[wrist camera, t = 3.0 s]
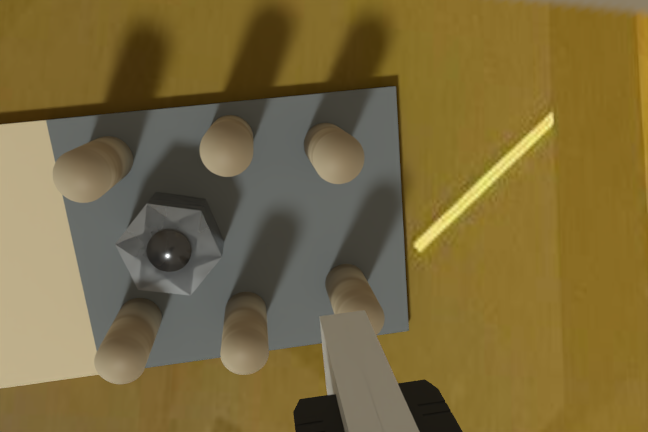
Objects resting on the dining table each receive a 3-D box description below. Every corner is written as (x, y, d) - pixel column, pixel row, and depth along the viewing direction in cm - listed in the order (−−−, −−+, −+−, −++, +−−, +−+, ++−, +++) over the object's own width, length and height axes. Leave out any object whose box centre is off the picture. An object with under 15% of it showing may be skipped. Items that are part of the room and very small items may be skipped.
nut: (157, 291, 34) (148, 312, 31) (116, 206, 33) (102, 220, 30) (233, 261, 34) (231, 280, 31) (195, 176, 33) (190, 187, 30)
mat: (-60, 392, 35) (-65, 397, 34) (-139, 137, 30) (-147, 138, 30) (406, 326, 38) (408, 330, 37) (393, 85, 33) (395, 86, 33)
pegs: (124, 346, 35) (101, 395, 30) (80, 129, 31) (44, 141, 26) (367, 313, 36) (386, 354, 31) (352, 102, 33) (370, 109, 27)
